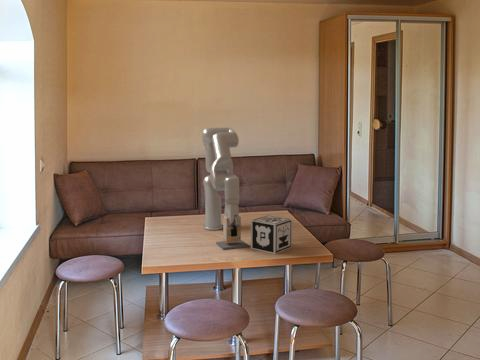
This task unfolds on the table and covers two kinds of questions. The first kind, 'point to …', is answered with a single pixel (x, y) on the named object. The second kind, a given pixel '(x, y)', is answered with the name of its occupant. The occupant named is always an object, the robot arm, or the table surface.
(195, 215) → the table surface
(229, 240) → the supplement box
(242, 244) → the rubber mat
